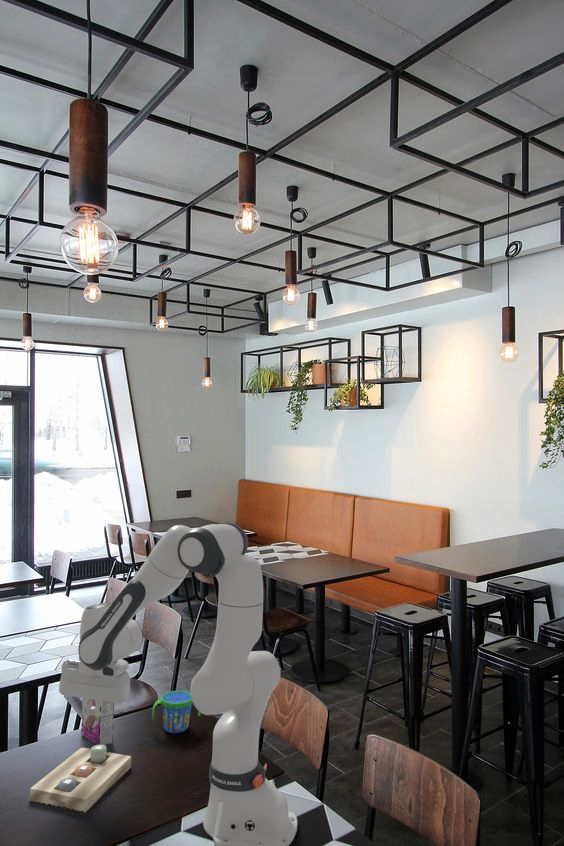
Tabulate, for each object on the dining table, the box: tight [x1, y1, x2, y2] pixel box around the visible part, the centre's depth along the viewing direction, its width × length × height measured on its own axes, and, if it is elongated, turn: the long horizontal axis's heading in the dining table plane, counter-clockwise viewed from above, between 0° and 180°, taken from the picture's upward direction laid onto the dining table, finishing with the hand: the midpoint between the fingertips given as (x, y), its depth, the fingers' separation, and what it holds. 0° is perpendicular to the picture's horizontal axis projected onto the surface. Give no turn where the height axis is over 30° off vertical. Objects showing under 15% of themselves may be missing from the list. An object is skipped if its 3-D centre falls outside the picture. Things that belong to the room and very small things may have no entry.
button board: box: [29, 747, 132, 813], centre depth 159 cm, size 16×22×3 cm
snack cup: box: [151, 690, 202, 734], centre depth 191 cm, size 16×10×10 cm
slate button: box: [59, 778, 76, 792], centre depth 152 cm, size 4×4×4 cm
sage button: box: [90, 744, 107, 765], centre depth 166 cm, size 4×4×4 cm
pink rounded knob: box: [75, 764, 92, 778], centre depth 159 cm, size 4×4×4 cm
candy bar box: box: [80, 698, 115, 747], centre depth 183 cm, size 11×5×16 cm, turn 47°
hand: (93, 714), depth 163 cm, fingers closed
